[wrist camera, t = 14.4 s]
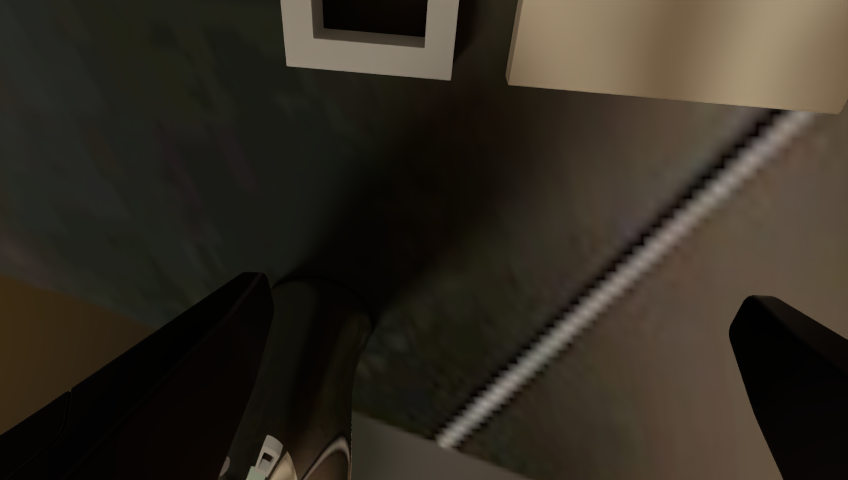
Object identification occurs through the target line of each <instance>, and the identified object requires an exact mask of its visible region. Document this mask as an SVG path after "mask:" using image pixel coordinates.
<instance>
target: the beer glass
mask: <svg viewBox="0 0 848 480" xmlns="http://www.w3.org/2000/svg"><path fill="white" fill-rule="evenodd" d="M271 294H272V299H273V303H274V315H273V319H272V323H271V327H270V330H269V334H268V338H267V342H266V345H265V349H264V353H263V357H262V360H261V364H260V368H259V372H258V375H257V379H256V382H255V386H254V388H253V391H252V394H251V397H250V399H249V402H248V404H247V407H246V409H245V412H244V414H243V417H242V419H241V422H240V424H239V427H238V430H237V432H236V435H235V437H234V440H233V442H232V445H231V447H230V450H229V452H228V455H227V457H226V460H225V462H224V465H223V468H222V470H221V473H220V475H219V478H218V480H351V446H352V442H351V441H352V432H351V431H352V430H351V429H352V427H351V426H352V390H353V383H354V377H355V373H356V370H357V367H358V364H359V361H360V359H361V357H362V354H363V352H364V350H365V348H366V346H367V343H368V341H369V338H370V335H371V331H372V319H371V315H370V312H369V310H368V308H367V306H366V305H365V303H364V302H363V301H362V300H361V299H360V298H359V297H358V296H357V295H356V294H355V293H354V292H352V291H351V290H349V289H348V288H346V287H344V286H342V285H340V284H338V283H335V282H333V281H329V280H326V279H320V278H311V277H304V278H296V279H291V280H288V281H285V282H283V283H281V284H279V285H277V286H276V287H274V288H273V289H272V290H271Z"/></svg>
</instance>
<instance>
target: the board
mask: <svg viewBox="0 0 848 480" xmlns="http://www.w3.org/2000/svg"><path fill="white" fill-rule="evenodd" d="M505 76H506V79H507V82H508V85H515V86H526V87H538V88H549V89H560V90H572V91H583V92H594V93H605V94H617V95H628V96H639V97H651V98H662V99H673V100H685V101H696V102H707V103H719V104H730V105H741V106H753V107H764V108H775V109H787V110H798V111H809V112H821V113H832V114H839V113H840V111H841V110H842V108H843V106H844V105H845V103H846V101H847V100H848V0H518V4H517V10H516V15H515V21H514V27H513V33H512V39H511V45H510V51H509V56H508V62H507V68H506V74H505Z"/></svg>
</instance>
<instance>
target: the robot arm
mask: <svg viewBox="0 0 848 480" xmlns="http://www.w3.org/2000/svg"><path fill="white" fill-rule="evenodd" d="M273 315H274V303H273V299H272V294H271V290H270V286H269V282H268V279H267V276H266V275H265V274H264V273H259V272H243V273H241V274H239V275H238V276H237V277H235V278H234V279H232V280H231V281H229V282H228V283H226V284H225V285H223V286H222V287H220V288H219V289H217V290H216V291H214V292H213V293H211V294H210V295H208V296H207V297H206V298H204V299H203V300H201V301H200V302H198V303H197V304H195V305H194V306H192V307H191V308H189V309H188V310H186V311H185V312H183V313H182V314H180V315H179V316H177V317H176V318H175V319H173V320H172V321H170V322H169V323H167V324H166V325H164V326H163V327H161V328H160V329H158V330H157V331H155V332H154V333H152V334H151V335H149V336H148V337H147V338H145V339H144V340H142V341H141V342H139V343H138V344H136V345H135V346H133V347H132V348H130V349H129V350H127V351H126V352H124V353H123V354H121V355H120V356H119V357H117V358H116V359H114V360H112V361H111V362H110V363H108V364H107V365H105V366H104V367H102V368H101V369H100V370H98V371H96V372H95V373H93V374H92V375H90V376H89V377H88V378H86V379H84V380H83V381H81V382H80V383H78V384H77V385H76V386H74V387H73V388H72V389H71V392H69V391H67V392H65V393H64V394H62V395H61V396H59V397H58V398H56V399H55V400H53V401H52V402H50V403H49V404H47V405H46V406H44V407H43V408H41V409H40V410H38V411H37V412H35V413H34V414H32V415H31V416H29V417H28V418H26V419H25V420H23V421H21V422H20V423H18V424H17V425H15V426H14V427H12V428H11V429H9V430H8V431H6V432H4V433H3V434H1V435H0V480H218V478H219V475H220V473H221V470H222V468H223V465H224V462H225V460H226V457H227V455H228V452H229V450H230V447H231V445H232V442H233V440H234V437H235V435H236V432H237V430H238V427H239V424H240V422H241V419H242V417H243V414H244V412H245V409H246V407H247V404H248V402H249V399H250V397H251V394H252V391H253V388H254V386H255V382H256V379H257V375H258V372H259V368H260V364H261V360H262V357H263V353H264V349H265V345H266V342H267V338H268V334H269V330H270V327H271V323H272V319H273ZM729 338H730V342H731V345H732V348H733V351H734V354H735V358H736V361H737V364H738V367H739V370H740V373H741V376H742V379H743V382H744V385H745V388H746V391H747V395H748V398H749V401H750V404H751V406H752V409H753V412H754V415H755V417H756V419H757V422H758V424H759V426H760V429H761V431H762V433H763V435H764V438H765V440H766V442H767V444H768V447H769V449H770V451H771V453H772V455H773V458H774V460H775V462H776V464H777V467H778V469H779V471H780V473H781V475H782V478H783V480H848V340H847V339H845V338H844V337H842V336H840V335H839V334H837V333H835V332H834V331H832V330H830V329H828V328H827V327H825V326H823V325H822V324H820V323H818V322H817V321H815V320H813V319H812V318H810V317H808V316H807V315H805V314H803V313H802V312H800V311H798V310H797V309H795V308H793V307H791V306H790V305H788V304H786V303H785V302H783V301H781V300H780V299H778V298H776V297H773V296H760V295H752V296H748V297H747V298H746V299H745V300H744V301H743V303H742V305H741V307H740V309H739V310H738V312H737V314H736V316H735V318H734V320H733V322H732V323H731V325H730V329H729Z"/></svg>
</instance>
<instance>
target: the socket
mask: <svg viewBox="0 0 848 480" xmlns="http://www.w3.org/2000/svg"><path fill="white" fill-rule="evenodd" d="M458 6H459V0H428V6H427V20H426V34H425V37H417V36H405V35H394V34H383V33H371V32H360V31H349V30H338V29H326V28H324V24H323V3H322V0H281V10H282V20H283V31H284V41H285V52H286V62H287V66H293V67H305V68H316V69H327V70H339V71H350V72H361V73H373V74H384V75H395V76H407V77H418V78H429V79H441V80H451V73H452V63H453V54H454V44H455V34H456V25H457V15H458Z"/></svg>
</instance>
